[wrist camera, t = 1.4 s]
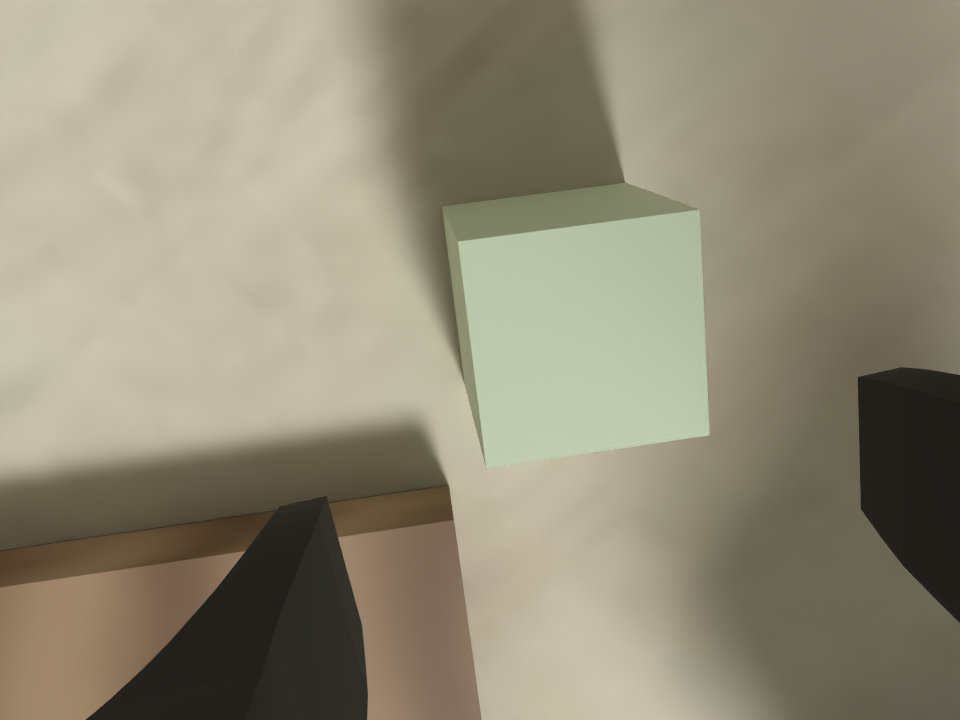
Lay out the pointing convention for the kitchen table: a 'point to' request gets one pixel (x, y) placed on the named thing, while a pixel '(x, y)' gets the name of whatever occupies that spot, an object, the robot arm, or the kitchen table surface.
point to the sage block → (579, 321)
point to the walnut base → (194, 577)
